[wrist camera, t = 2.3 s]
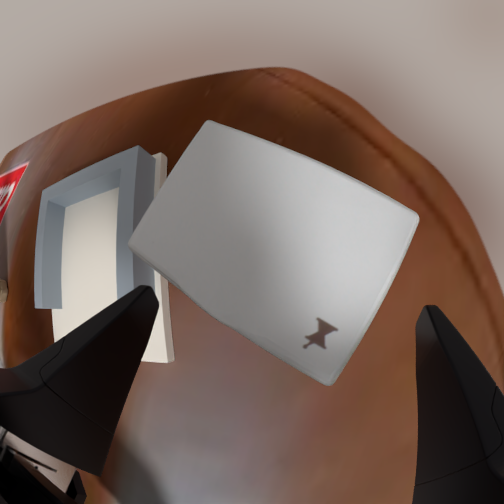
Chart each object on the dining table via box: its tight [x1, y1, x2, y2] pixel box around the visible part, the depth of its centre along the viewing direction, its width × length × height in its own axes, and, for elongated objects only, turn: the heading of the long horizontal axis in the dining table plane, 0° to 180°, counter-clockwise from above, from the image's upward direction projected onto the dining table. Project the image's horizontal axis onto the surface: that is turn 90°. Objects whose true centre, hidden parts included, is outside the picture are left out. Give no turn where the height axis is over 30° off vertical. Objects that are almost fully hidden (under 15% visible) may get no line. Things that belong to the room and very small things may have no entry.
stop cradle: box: [34, 145, 175, 363], centre depth 20 cm, size 16×14×4 cm
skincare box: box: [128, 120, 419, 386], centre depth 11 cm, size 6×4×12 cm
